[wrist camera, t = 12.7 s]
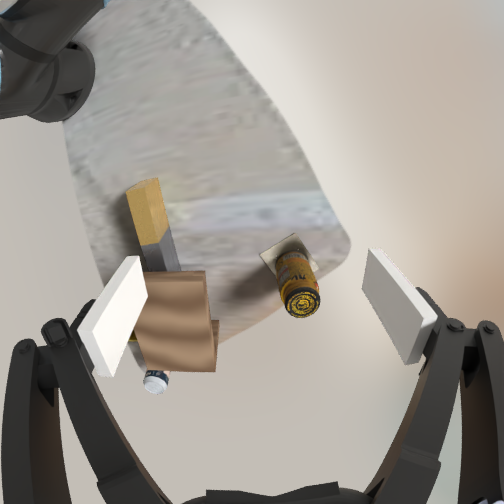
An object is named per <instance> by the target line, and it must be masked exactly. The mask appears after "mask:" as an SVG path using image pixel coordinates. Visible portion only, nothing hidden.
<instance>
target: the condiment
mask: <svg viewBox="0 0 504 504" xmlns="http://www.w3.org/2000/svg"><path fill="white" fill-rule="evenodd" d="M298 249H299V250H298ZM276 255H277V257H276ZM260 256H261V257H262V259H263V260H264V261H265V263H266V264H267V265H268V267H269V268H270V269H271V271H272V272H273V273H274V275H275V276H276V277H277V282H278V286H279V292H280V296H281V300H282V301H283V303H284V304H285V308H286V310H287V311H288V313H290V315H291V316H294V317H297V318H304V317H308V316H310V315H312V314H314V313H315V312H316V311H317V309H318V308H319V305H320V296H319V286H318V284H317V281H316V279H315V276H314V274H313V272H314V271H316V270H318V269H319V268H318V266H317V265H316V263H315V261H314V260H313V258H312V257H311V255H310V254H309V252H308V251H307V249H306V248H305V246H304V245H303V243H302V241H301V240H300V239H299V237H298V235H297V234H296V233H295V234H293V235H291V236H289V237H288V238H286V239H284V240H282V241H281V242H279V243H278V244H276V245H274V246H273V247H271V248H270V249H268V250H266V251H265V252H263V253H262V254H260ZM276 258H277V259H276Z"/></svg>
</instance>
